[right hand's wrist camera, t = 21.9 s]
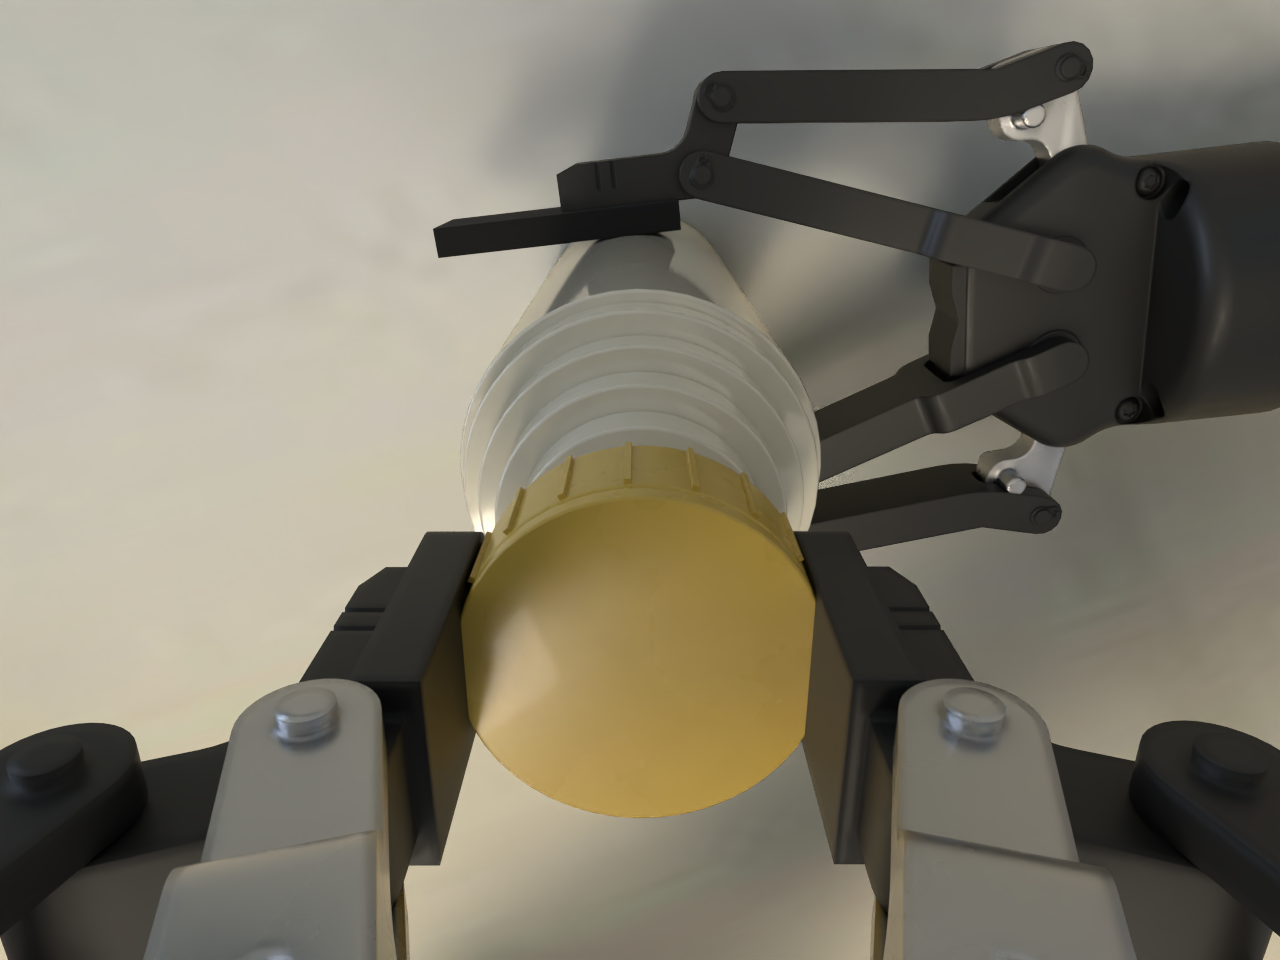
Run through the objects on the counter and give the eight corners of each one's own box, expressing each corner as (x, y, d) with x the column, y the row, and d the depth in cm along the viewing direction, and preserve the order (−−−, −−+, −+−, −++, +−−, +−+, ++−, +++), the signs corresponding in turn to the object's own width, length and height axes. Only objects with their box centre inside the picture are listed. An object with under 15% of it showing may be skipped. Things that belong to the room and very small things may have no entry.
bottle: (516, 258, 32) (260, 515, 10) (690, 179, 31) (807, 279, 9) (594, 422, 34) (517, 916, 12) (758, 353, 33) (982, 760, 11)
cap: (832, 695, 13) (862, 780, 11) (529, 758, 13) (513, 851, 11) (773, 404, 11) (797, 452, 9) (429, 485, 11) (393, 545, 10)
